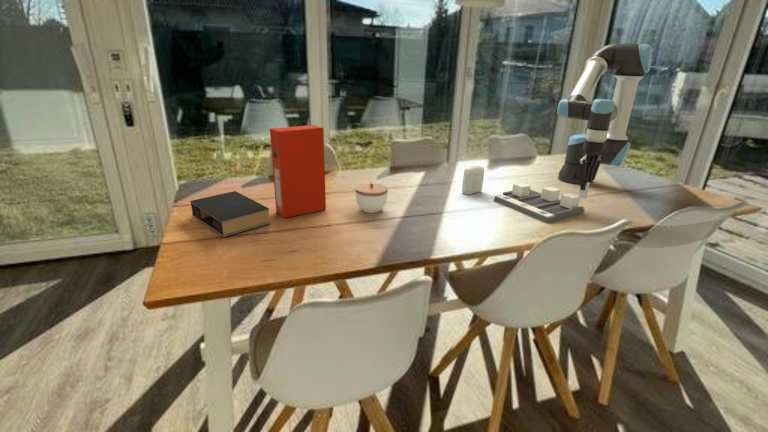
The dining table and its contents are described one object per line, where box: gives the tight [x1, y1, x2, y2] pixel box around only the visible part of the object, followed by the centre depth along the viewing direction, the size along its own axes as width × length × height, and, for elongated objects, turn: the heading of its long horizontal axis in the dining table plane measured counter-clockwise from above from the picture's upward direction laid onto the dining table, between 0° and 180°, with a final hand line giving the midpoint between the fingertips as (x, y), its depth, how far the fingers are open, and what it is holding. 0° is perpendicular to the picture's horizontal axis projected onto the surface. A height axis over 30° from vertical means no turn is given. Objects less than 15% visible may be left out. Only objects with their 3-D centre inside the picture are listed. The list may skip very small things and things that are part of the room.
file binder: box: [269, 124, 327, 219], centre depth 153 cm, size 8×17×32 cm, turn 126°
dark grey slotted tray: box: [493, 189, 586, 224], centre depth 170 cm, size 22×28×3 cm
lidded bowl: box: [354, 182, 389, 214], centre depth 160 cm, size 13×13×11 cm
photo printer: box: [461, 165, 485, 195], centre depth 184 cm, size 10×4×12 cm, turn 123°
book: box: [189, 190, 271, 238], centre depth 147 cm, size 17×25×7 cm
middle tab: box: [541, 186, 561, 202], centre depth 173 cm, size 5×5×4 cm
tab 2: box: [560, 192, 581, 209], centre depth 165 cm, size 5×5×4 cm
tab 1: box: [511, 182, 531, 197], centre depth 177 cm, size 5×5×4 cm
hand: (582, 197), depth 169 cm, fingers closed
